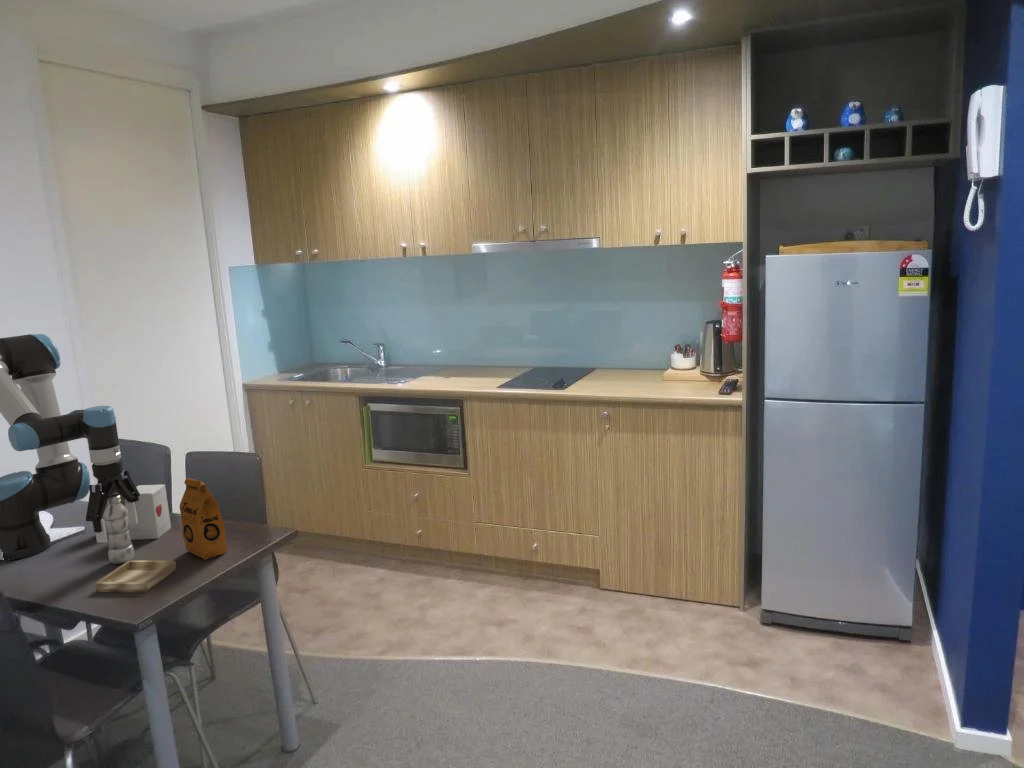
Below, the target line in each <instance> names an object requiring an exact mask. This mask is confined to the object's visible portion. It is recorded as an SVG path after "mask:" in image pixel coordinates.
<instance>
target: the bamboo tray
mask: <svg viewBox="0 0 1024 768" xmlns="http://www.w3.org/2000/svg"><path fill="white" fill-rule="evenodd" d="M176 564H177V563H176V560H145V559H144V560H143V559H142V560H137V559H135V560H133V559H132V560H128V561H127V562H125V563H122V564H120V566H118V567H117V568H115V569H114V570H112V571H111V572H109V573H108V574H107V575H105V576H104V577H103V578H101V579H99V580H98V581H97V582H95V585H94V586H95V590H96V593H138V594H139V593H140V594H141V593H142V594H143V593H144V594H146V593H147V592H148V591H150V590H151V589H153V588H154V587H155V586H156V585H158V584H159V583H161V582H162V581H163V580H164V579H165V578H166V577H168V576H169V575H170V574H172V573H173V572H174V571H176V570H177V565H176Z"/></svg>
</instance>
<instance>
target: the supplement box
mask: <svg viewBox="0 0 1024 768" xmlns="http://www.w3.org/2000/svg"><path fill="white" fill-rule="evenodd" d="M136 488H137V490H138V491H139V493H140V496H139V501H135V502H136V508H137V511H136V512H137V518H138V523H137V524H128V525H129V535H130V539H131V541H132V540H133V541H134V540H153V539H154V540H157V539H159V538H161V537H162V536H163V535H164V534H166V533H167V532H168V531H169V530H171V528H172V525H171V518H170V517H171V516H170V510H169V503H168V498H167V497H168V496H167V489H166V484H141V485H140V484H139V485H137V486H136ZM133 493H134V492H133ZM126 502H128V501H126V500H125V503H126Z"/></svg>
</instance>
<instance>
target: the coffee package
mask: <svg viewBox="0 0 1024 768" xmlns="http://www.w3.org/2000/svg"><path fill="white" fill-rule="evenodd" d="M184 485H186V487H185V491H184V492H183V495H182V498H181V500H180V503H179V511H180V519H181V520H180V521H181V522H180V523H181V526H182V527H181V528H182V530H181V531H182V534H181V535H182V538H183V541H184V545H185V551H187V552H189V553H191V554H193V555H195V557H196V556H197V557H199V558H201V559H203V560H204V561H206V559H207V560H208V559H211V557H213V558H215V557H217V555H218V556H220V555H223V554H226V553H228V548H227V541H226V528H225V525H224V521H223V517H222V514H221V510H220V507H219V505H218V502H217V501H216V498H215V497H214V495H213V494H212V493H211V491H210V489H209V488H208V486H207V485H206V484H205V483H204V482H203V481H201V480H198V479H194V478H189V477H188V478H186V479H185V480H184Z"/></svg>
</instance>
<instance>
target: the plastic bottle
mask: <svg viewBox="0 0 1024 768" xmlns="http://www.w3.org/2000/svg"><path fill="white" fill-rule="evenodd" d="M120 502H121V499H120V495H119V494H112V495H111V497H110V498H108V501H107V506H106V507H105V510H104V513H103V516H102V519H104V521H105V527H106V533H107V539H108V542H107V543H108V551H107V555H108V556H107V558H108V560H109V562H110V563H112V564H114V565H122V564H124V563H126V562H127V561H128V560H133V559H134V557H135V549H134V548H135V547H134V545H133V543H132V540H131V539H130V532H129V526H128V515H129V513H128V509H127V508H126V507H125V506H124V505H123V504H122V503H120Z"/></svg>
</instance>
